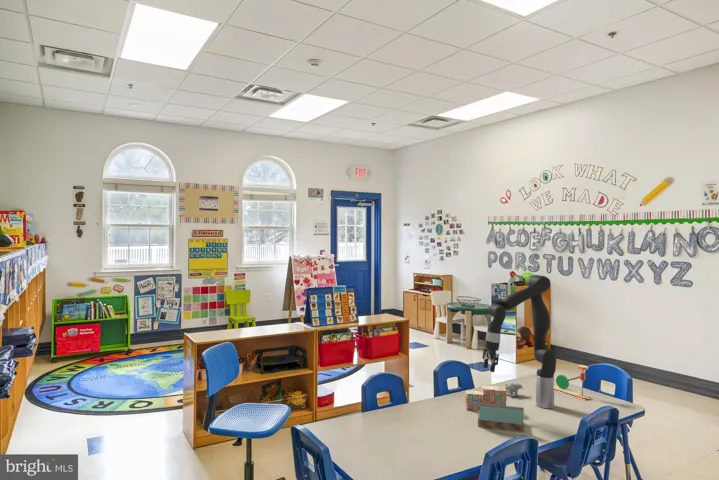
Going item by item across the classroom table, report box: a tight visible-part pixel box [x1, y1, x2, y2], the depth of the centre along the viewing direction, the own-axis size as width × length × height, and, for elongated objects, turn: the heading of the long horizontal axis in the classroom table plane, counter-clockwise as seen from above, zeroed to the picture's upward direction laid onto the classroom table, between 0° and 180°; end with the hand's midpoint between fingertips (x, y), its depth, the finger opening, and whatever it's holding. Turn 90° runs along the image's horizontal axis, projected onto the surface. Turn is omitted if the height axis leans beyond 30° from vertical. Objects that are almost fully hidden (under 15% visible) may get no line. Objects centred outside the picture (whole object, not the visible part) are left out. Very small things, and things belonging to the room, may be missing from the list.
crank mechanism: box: [554, 364, 591, 400], centre depth 289 cm, size 25×7×19 cm, turn 32°
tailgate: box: [479, 403, 525, 425], centre depth 231 cm, size 21×1×8 cm, turn 76°
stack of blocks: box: [464, 385, 507, 412], centre depth 259 cm, size 21×6×12 cm, turn 84°
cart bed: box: [477, 406, 525, 433], centre depth 238 cm, size 22×12×6 cm, turn 76°
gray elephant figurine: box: [504, 381, 524, 398], centre depth 284 cm, size 9×12×8 cm
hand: (488, 369), depth 255 cm, fingers open, 8 cm apart
